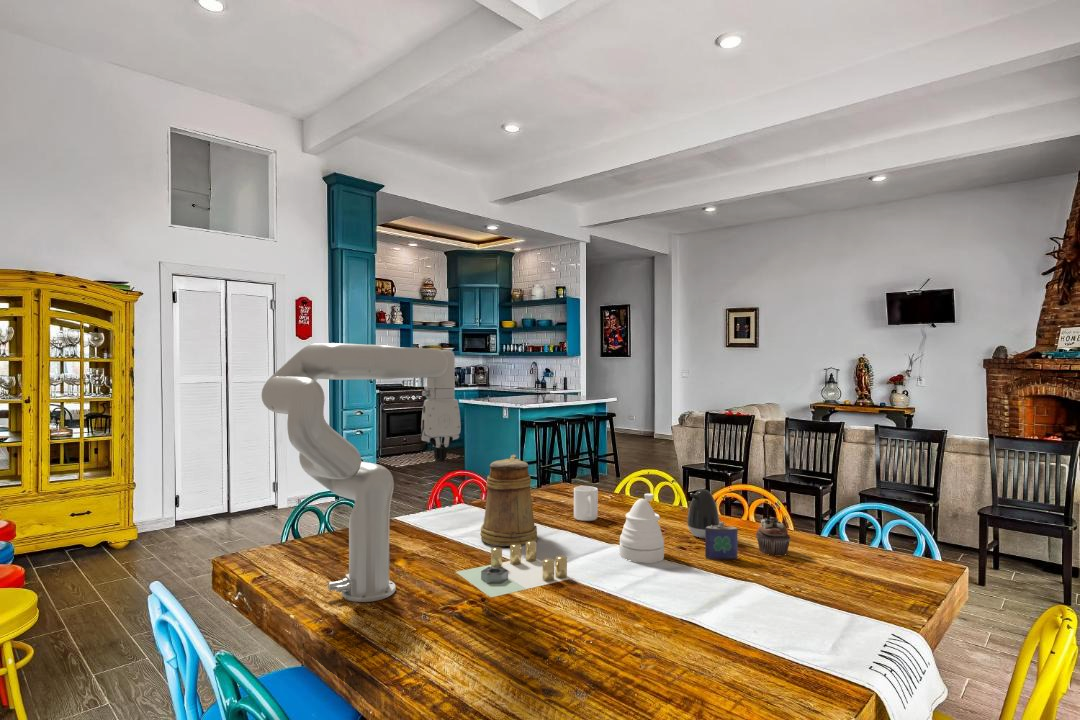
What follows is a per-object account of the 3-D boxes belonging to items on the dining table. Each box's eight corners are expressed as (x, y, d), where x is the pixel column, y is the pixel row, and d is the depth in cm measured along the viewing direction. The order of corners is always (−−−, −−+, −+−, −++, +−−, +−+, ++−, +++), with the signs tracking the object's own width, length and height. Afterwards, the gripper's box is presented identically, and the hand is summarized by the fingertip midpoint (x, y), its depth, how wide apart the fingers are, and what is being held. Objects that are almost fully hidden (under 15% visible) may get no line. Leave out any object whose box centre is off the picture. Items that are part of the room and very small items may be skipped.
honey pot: (661, 549, 184) (662, 490, 183) (666, 564, 171) (666, 500, 171) (618, 547, 185) (619, 488, 185) (620, 562, 172) (620, 498, 172)
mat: (490, 600, 144) (490, 597, 144) (455, 574, 161) (455, 571, 161) (572, 581, 157) (572, 578, 157) (532, 559, 174) (532, 556, 174)
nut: (490, 586, 151) (490, 577, 151) (478, 577, 157) (478, 569, 157) (511, 581, 155) (511, 572, 155) (498, 573, 160) (498, 564, 160)
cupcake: (795, 557, 177) (796, 523, 177) (762, 556, 177) (762, 522, 177) (783, 547, 187) (783, 514, 187) (751, 546, 187) (751, 514, 187)
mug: (579, 524, 210) (579, 493, 210) (571, 515, 222) (571, 486, 222) (603, 523, 212) (603, 492, 212) (594, 514, 224) (594, 485, 223)
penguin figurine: (680, 533, 200) (680, 487, 200) (705, 530, 204) (705, 485, 204) (700, 542, 190) (700, 494, 190) (726, 538, 195) (726, 491, 195)
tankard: (477, 548, 184) (477, 465, 183) (485, 526, 207) (485, 453, 207) (537, 548, 183) (537, 466, 183) (538, 526, 207) (538, 453, 207)
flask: (736, 557, 177) (736, 520, 177) (739, 560, 174) (739, 523, 174) (704, 556, 177) (704, 520, 177) (706, 560, 174) (706, 522, 174)
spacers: (522, 588, 150) (523, 567, 150) (489, 566, 165) (489, 548, 165) (569, 577, 158) (569, 558, 158) (532, 557, 173) (532, 540, 173)
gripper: (419, 396, 160) (419, 466, 160) (471, 394, 168) (470, 461, 168) (409, 394, 166) (409, 461, 166) (459, 393, 174) (459, 457, 174)
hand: (440, 461), depth 167 cm, fingers closed
